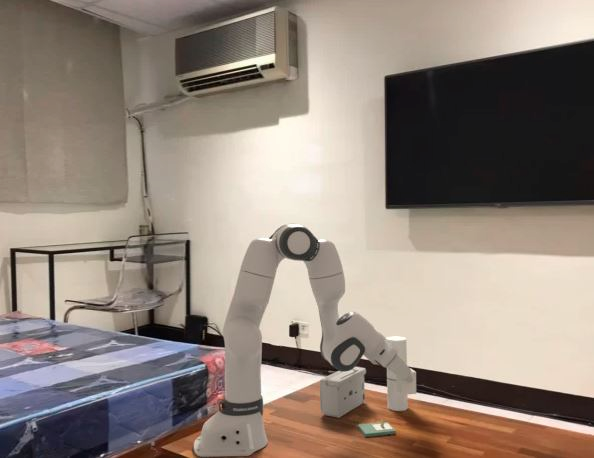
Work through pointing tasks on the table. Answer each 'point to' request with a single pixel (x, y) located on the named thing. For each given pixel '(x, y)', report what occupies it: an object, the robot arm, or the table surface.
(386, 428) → the header board
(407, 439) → the table surface
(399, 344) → the cylindrical container
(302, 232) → the robot arm
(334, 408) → the stereo radio cassette player
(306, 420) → the table surface
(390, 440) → the table surface
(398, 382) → the block
